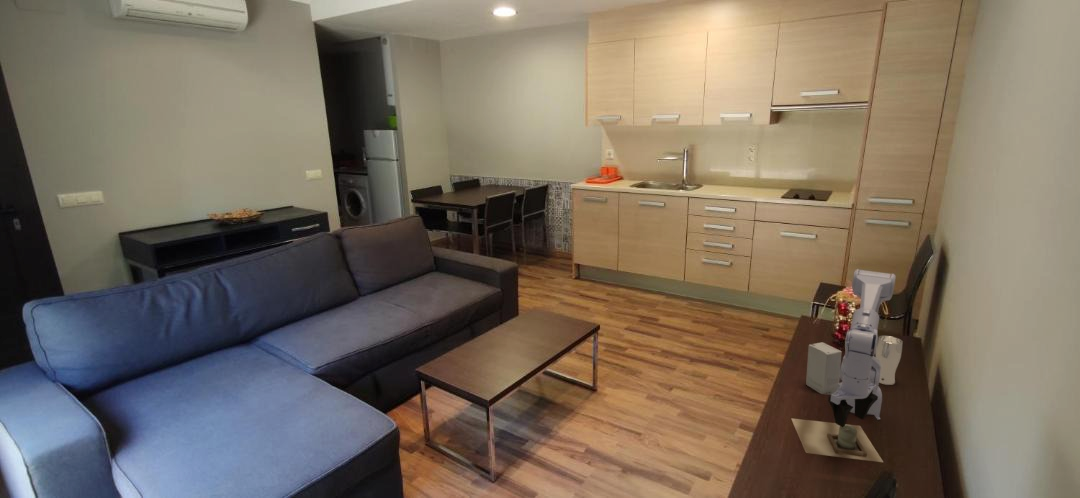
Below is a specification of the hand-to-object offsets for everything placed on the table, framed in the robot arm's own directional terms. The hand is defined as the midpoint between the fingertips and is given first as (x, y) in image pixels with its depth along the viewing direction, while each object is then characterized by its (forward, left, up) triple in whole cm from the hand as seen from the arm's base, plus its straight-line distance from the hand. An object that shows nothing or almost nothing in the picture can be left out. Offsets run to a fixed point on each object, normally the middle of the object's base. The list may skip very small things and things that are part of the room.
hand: (849, 421), depth 129 cm
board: (+2, -3, -9) cm, 10 cm away
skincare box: (-3, -33, -9) cm, 34 cm away
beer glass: (-25, -43, -9) cm, 51 cm away
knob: (0, 0, -8) cm, 8 cm away
